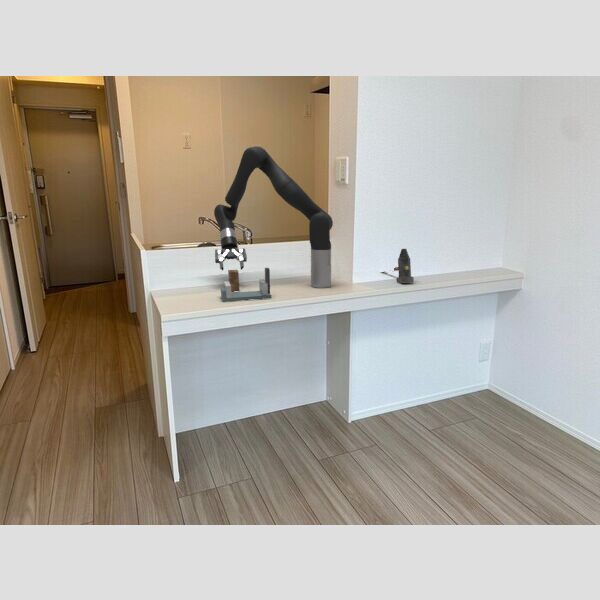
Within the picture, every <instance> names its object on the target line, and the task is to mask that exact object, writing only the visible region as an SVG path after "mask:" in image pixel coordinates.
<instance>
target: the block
mask: <svg viewBox="0 0 600 600" xmlns="http://www.w3.org/2000/svg"><path fill="white" fill-rule="evenodd" d="M227 272H228V273H227V275H228V281H229V283H230V285H231V293H233V292H234V291H239V292H240V277H239V276H240V275H239V270H238V269H228V271H227Z"/></svg>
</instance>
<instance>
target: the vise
mask: <svg viewBox="0 0 600 600" xmlns="http://www.w3.org/2000/svg"><path fill="white" fill-rule="evenodd" d="M220 297H221V298H220V299H221V300H223V301H222V302H223V303H227V302H226V301H230V302H238V301H237V300H245V301H249V300H248V299H259V300H264V299H263V298H272V294H271V292H270V293H268V295H263V294H262V293H261V292H260V290H250V291H239V292H231V285H230V283H229V280H227V281H223V285H221V286H220Z"/></svg>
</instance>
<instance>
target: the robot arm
mask: <svg viewBox="0 0 600 600" xmlns="http://www.w3.org/2000/svg"><path fill="white" fill-rule="evenodd" d="M238 165H239V166H238V168H237V172H236V174H235V177H234V179H233V181H232V183H231V185H230V188H229V190H228V191H227V193H226V195H225V197H224V201H225V203H226V204H227V205H229V206H227V205H225V204H221V203H220V204H218V205H216V206H215V208H214V210H213V213H214V214H213V215H214V218H215V221H216V222H217V225H218V227H219V237H220V240H219V241H220V248H221V249H220V250H219V249H216V248H215V250H214V251H215V252H214V261H215V263H216V264H219V269H220V270H221V271H224V269H225V268H224V262H225V261H226V260H236V261H238V262H239V265H240V270H243V269H244V268H245V264H244V263H246V262H247V258H248V256H247V252H246V248H242V249H239V247H238V237H237V234H236V233H237V232H236V228H235V223H234V221H235V219H236V218H237V213H238V209H239V206H240V205H239V204H240V202H241V200H242V199H243V197H244V195H245V192H246V190H247V184H248V181H249V178H250V176H251V175H252V173H253V172H254V171H255V170H256V169H259V170H260V171H261V172H263V174H264V175H265V176H266V177H267V178H268V179H269V180H270V183H271V185H272V187H273V189H274V191H275V192H276V194H277V195H278V196H280V197H281V199H282V200H283V201H285V202H286V203H287V204H288V205H289V206H291V207H292V208H294V209H295V210H296V211H299V212H300V213H302V214H303V215H304V216H305V217H306V218H307V220H308V221H309V225H308V230H309V231H308V232H309V244H310V286H311V287H313V288H316V289H317V288H319V289H320V288H321V289H322V288H323V289H325V288H331V287H332V242H331V237H330V236H331V235H330V233H331V232H330V231H331V229H332V228H333V226H334V225H333V224H334V222H333V221H334V220H333V218H332V216H331V215H330V214H328V212H326V211H325V210H324V209H323V208H321V207H320V206H319V205H318V204H316V202H314V201H313V200H312V199H311V197H310V196H309V195H308V194H307V192H306V191H304V190H303V188H302V187H301V186H300V185H299V184H298V183H297V182H296V181H295V180H294V179H293V178H291V176H290V175H289V174H287V173H286V171H285V170H283V169H282V168H281V167H280V166H279V164H277V162H276V161H275V160H274V159H273V158H272V156H271V155H270V154H269V153H268V152H267V151H266V149H265V148H263V147H262V146H251V147H247V148H246V149H245V150H244V151H243V153H242V156H241V160H240V163H239V164H238ZM240 254H241V255H240ZM220 255H221V257H220V258H219V256H220Z"/></svg>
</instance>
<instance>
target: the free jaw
mask: <svg viewBox="0 0 600 600" xmlns="http://www.w3.org/2000/svg"><path fill="white" fill-rule="evenodd" d="M270 273H271V271H270V267H264V278H261V279H260V278H259V279H258V280H259V281H258V282H259V283H258V284H259V287H258V289H259V291H260V292H261V293H262V294H263V295H268V293H270V294H271V276H270V275H271V274H270Z"/></svg>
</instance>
